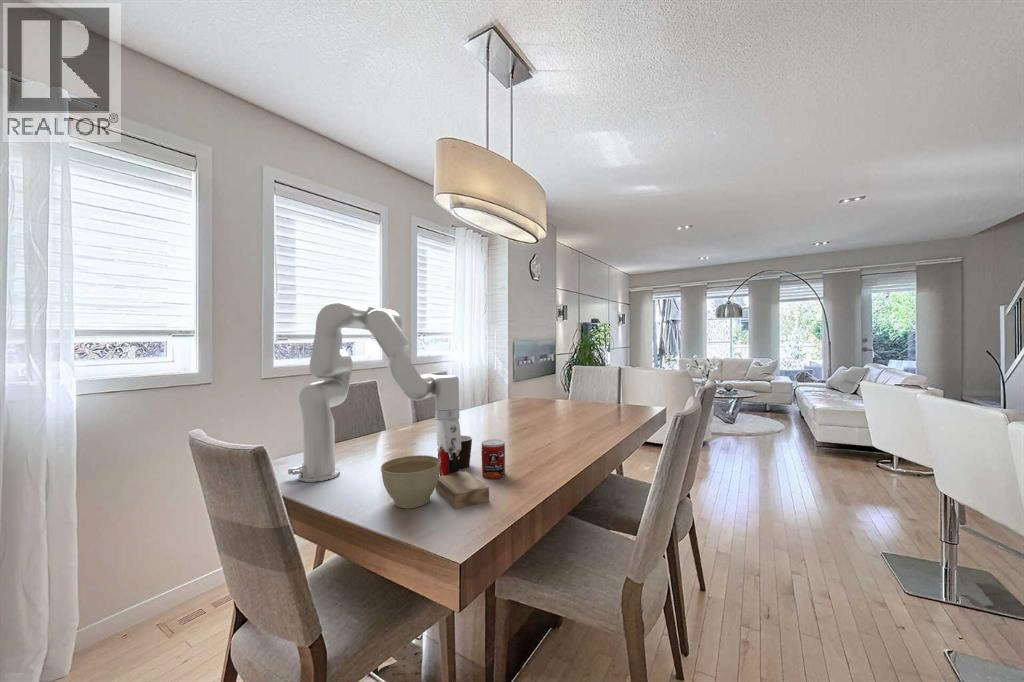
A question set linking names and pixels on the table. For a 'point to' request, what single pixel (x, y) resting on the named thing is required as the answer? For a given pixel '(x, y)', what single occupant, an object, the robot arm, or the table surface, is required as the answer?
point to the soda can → (444, 462)
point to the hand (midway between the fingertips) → (448, 468)
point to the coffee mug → (465, 452)
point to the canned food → (493, 458)
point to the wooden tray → (462, 489)
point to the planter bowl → (411, 479)
